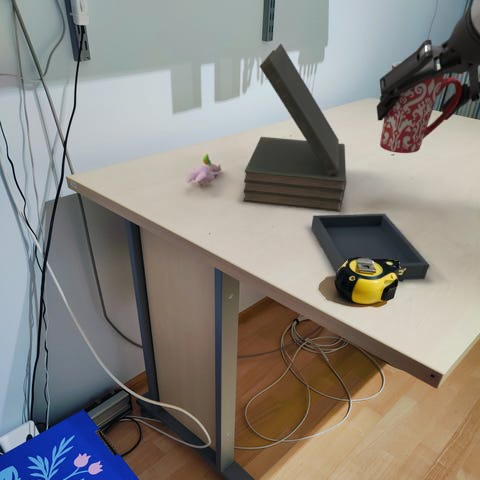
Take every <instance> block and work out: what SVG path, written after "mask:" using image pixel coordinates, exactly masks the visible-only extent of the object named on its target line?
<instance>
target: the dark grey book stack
mask: <svg viewBox="0 0 480 480" xmlns="http://www.w3.org/2000/svg"><path fill="white" fill-rule="evenodd" d="M259 68H260V69H261V71H262V73H263V74H264V76H265V78H266V79H267V81H268V82H269V84H270V86H271V87H272V88H273V90H274V92H275V93H276V95H277V96H278V98H279V100H280V102H281V103H282V104H283V105H284V107H285V109H286V111H287V112H288V114H289V115H290V117H291V118H292V119H293V121H294V123H295V125H296V126H297V128H298V129H299V132H300V133H301V134H302V136H303V138H304V139H305V140H303V139H292V138H280V137H271V136H270V137H269V136H260V138H259V140H258V142H257V144H256V146H255V148H254V150H253V153H252V155H251V157H250V159H249V160H248V163H247V165H246V167H245V169H244V173H245V177H244V179H243V183H244V184H245V185H244V189H243V194H244V197H243V201H242V202H243V203H253V204H261V205H262V204H263V205H271V206H282V207H288V208H289V207H290V208H299V209H300V208H301V209H309V210H319V211H326V212H327V211H328V212H336V213H337V212H338V213H340V212H341V211H342V205H343V201H344V197H345V196H344V195H345V191H346V186H347V167H346V145H345V143H340V140H339V138H338V136H337V134H336V132H335V131H334V129H333V128H332V126H331V124H330V123H329V121H328V120H327V118H326V116H325V115H324V112H323V111H322V109H321V108H320V106H319V104H318V103H317V101H316V99H315V98H314V96H313V95H312V92H311V91H310V89H309V88H308V86H307V85H306V83H305V81H304V79H303V78H302V76H301V74H300V73H299V71H298V70H297V68H296V65H295V64H294V62H293V61H292V60H291V58H290V56H289V54H288V52H287V50H286V49H285V48H284V46H283V44H282V43H280V44H279V45H278V46H277V47H276V49H275V50H274V49H273V50H272V51H271V52H270V53H269V54H268V55H267V56H266V57H265V59H264V61H262V63H261V64H260V65H259Z"/></svg>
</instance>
